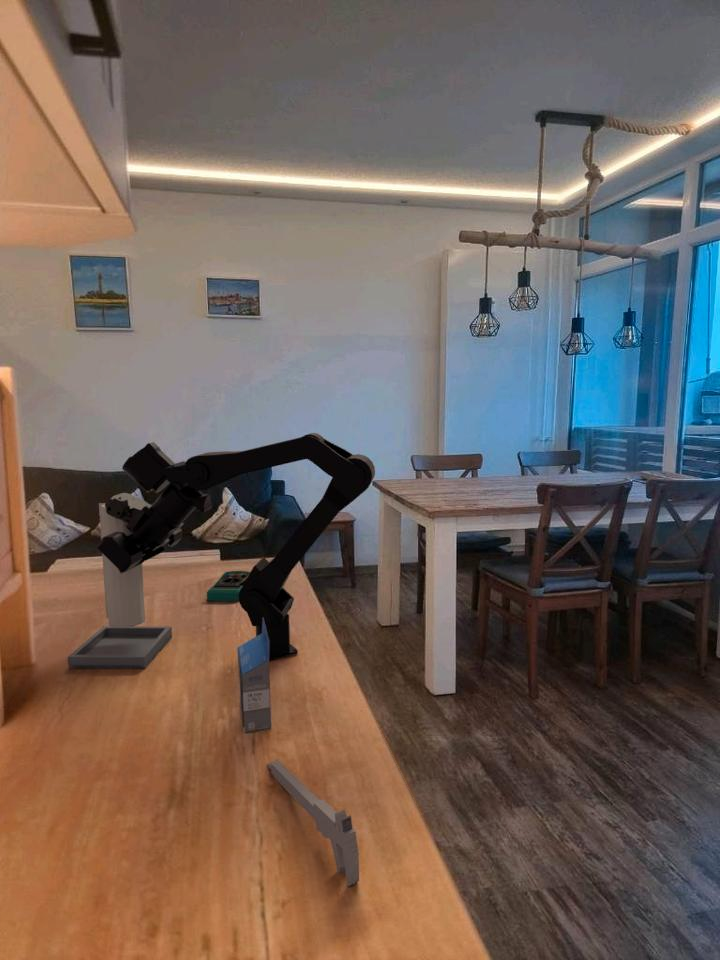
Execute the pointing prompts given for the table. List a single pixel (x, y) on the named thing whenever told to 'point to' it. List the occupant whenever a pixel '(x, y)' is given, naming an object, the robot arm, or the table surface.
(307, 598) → the table surface
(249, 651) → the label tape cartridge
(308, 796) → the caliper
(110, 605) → the paper towel roll
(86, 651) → the tray
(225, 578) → the digital multimeter
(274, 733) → the table surface
